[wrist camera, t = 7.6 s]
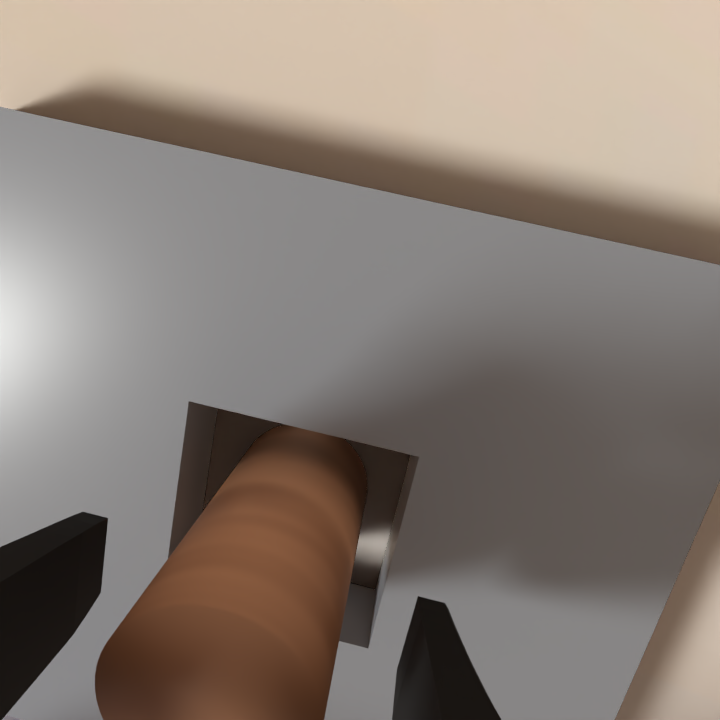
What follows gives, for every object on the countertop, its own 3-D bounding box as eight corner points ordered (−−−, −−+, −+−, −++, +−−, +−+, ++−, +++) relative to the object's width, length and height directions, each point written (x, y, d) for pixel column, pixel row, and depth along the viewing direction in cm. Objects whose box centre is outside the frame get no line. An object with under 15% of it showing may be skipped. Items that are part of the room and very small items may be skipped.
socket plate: (534, 782, 19) (551, 864, 17) (-9, 637, 20) (-67, 695, 17) (739, 272, 14) (806, 284, 12) (8, 111, 15) (-71, 91, 13)
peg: (353, 553, 17) (300, 820, 10) (232, 523, 18) (87, 762, 10) (379, 440, 16) (344, 639, 9) (251, 409, 16) (103, 578, 9)
